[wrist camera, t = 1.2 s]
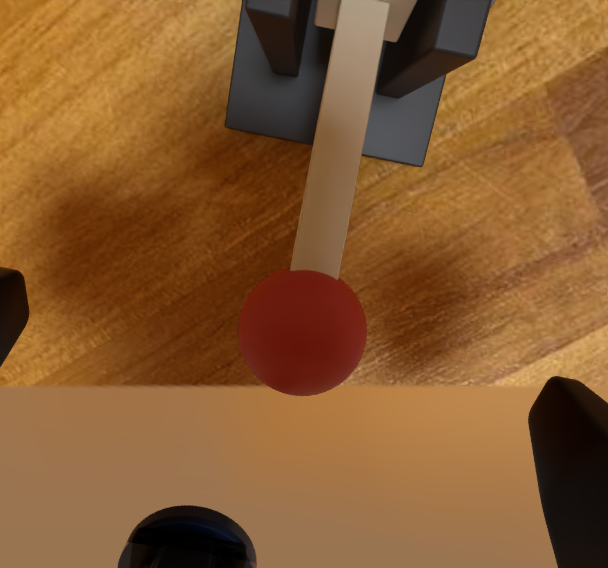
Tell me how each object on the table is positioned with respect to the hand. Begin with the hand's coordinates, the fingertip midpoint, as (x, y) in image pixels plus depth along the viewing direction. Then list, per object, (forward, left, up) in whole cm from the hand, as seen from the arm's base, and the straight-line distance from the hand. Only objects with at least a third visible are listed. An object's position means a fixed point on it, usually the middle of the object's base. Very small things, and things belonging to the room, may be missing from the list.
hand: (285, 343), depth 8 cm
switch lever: (+3, 0, -6) cm, 6 cm away
